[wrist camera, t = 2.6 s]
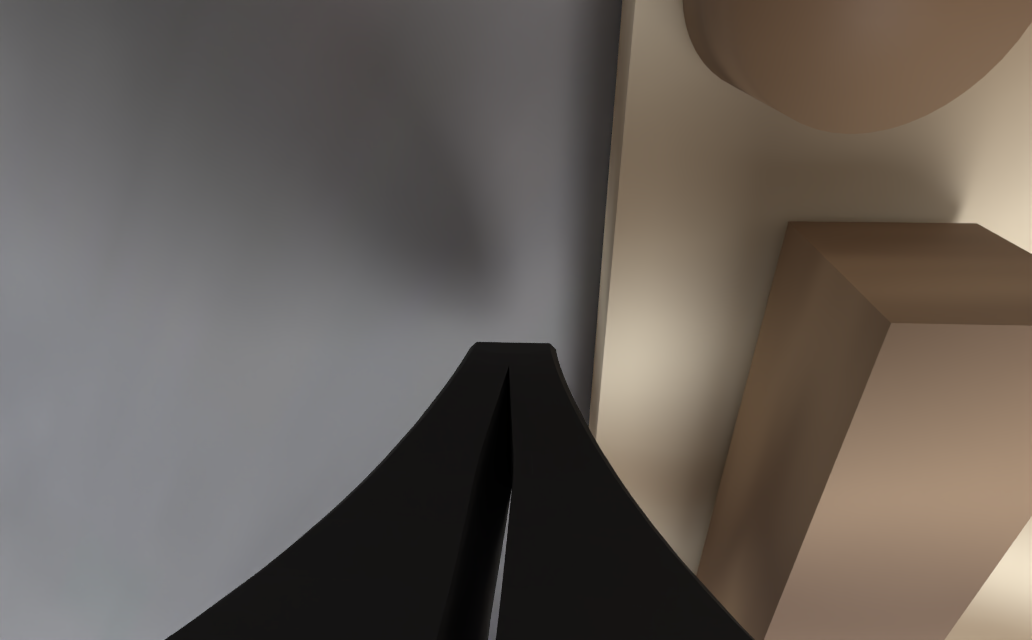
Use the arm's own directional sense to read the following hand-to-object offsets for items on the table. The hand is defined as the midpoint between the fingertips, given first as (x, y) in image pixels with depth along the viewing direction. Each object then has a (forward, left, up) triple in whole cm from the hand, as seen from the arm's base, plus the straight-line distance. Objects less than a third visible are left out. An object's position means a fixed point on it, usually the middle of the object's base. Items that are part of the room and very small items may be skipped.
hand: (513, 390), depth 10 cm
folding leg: (-3, -6, -1) cm, 6 cm away
